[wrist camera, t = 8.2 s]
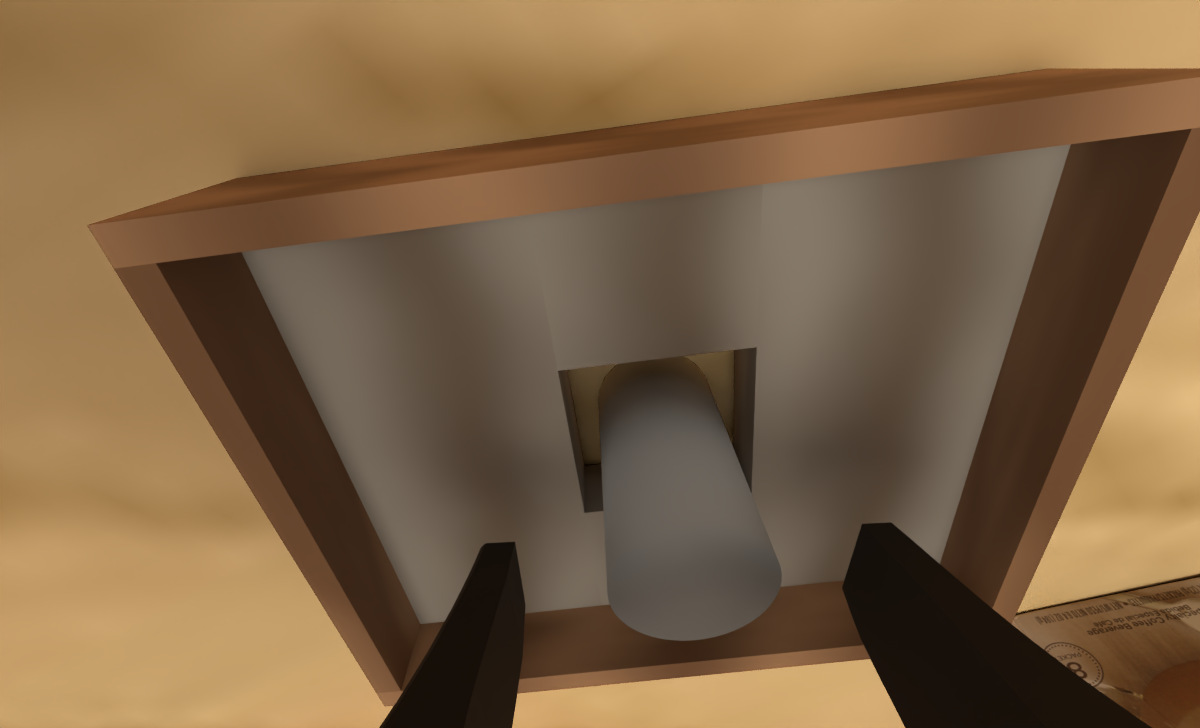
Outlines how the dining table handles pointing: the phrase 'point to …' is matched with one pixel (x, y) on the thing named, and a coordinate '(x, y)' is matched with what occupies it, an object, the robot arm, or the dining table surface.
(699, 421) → the peg
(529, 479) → the box
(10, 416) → the dining table surface
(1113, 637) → the coffee box
